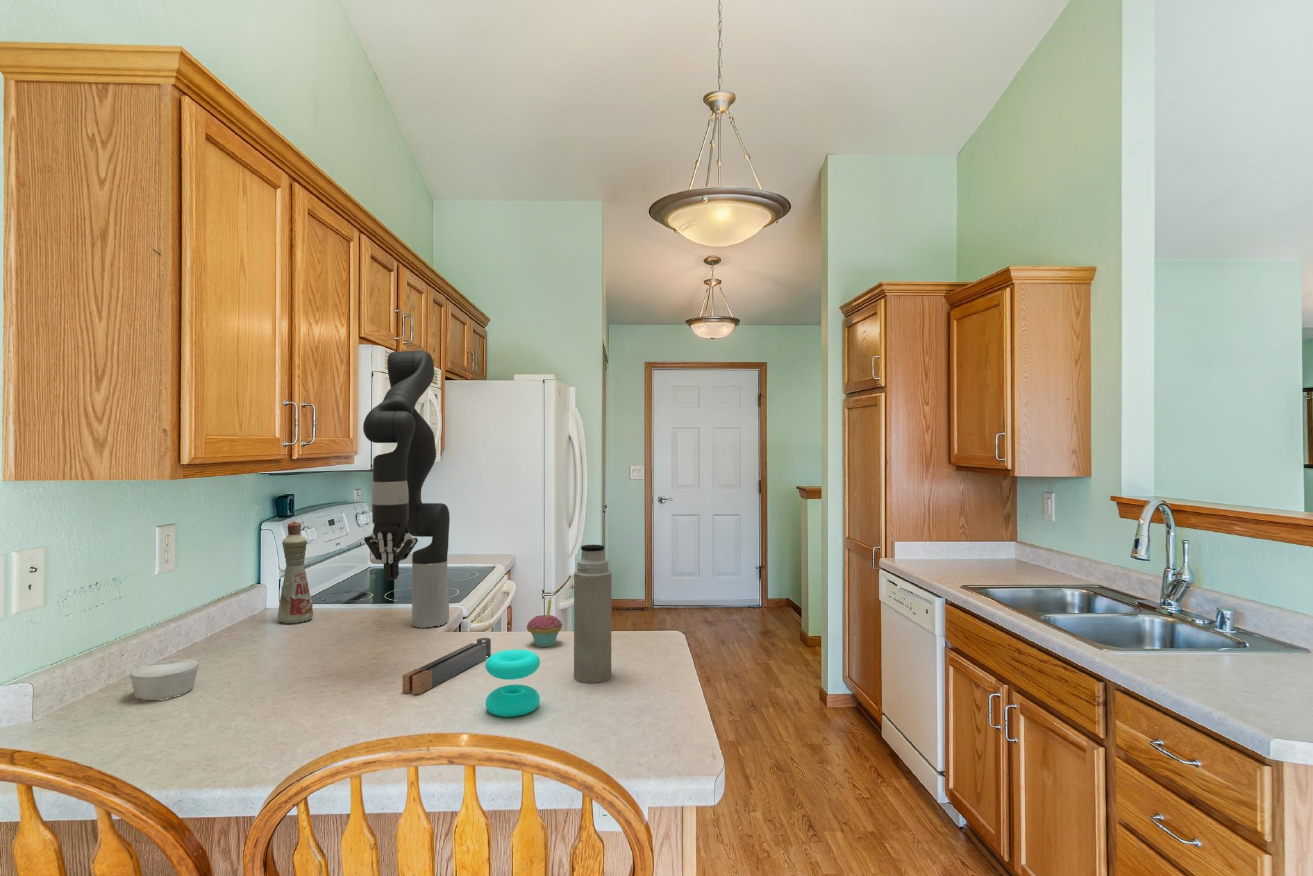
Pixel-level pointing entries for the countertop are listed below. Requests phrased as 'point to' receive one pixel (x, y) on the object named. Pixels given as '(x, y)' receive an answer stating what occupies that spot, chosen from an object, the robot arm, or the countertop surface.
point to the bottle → (295, 579)
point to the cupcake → (544, 628)
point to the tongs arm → (408, 676)
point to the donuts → (514, 696)
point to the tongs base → (451, 667)
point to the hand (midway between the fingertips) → (391, 579)
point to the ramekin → (164, 679)
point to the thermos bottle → (592, 616)
